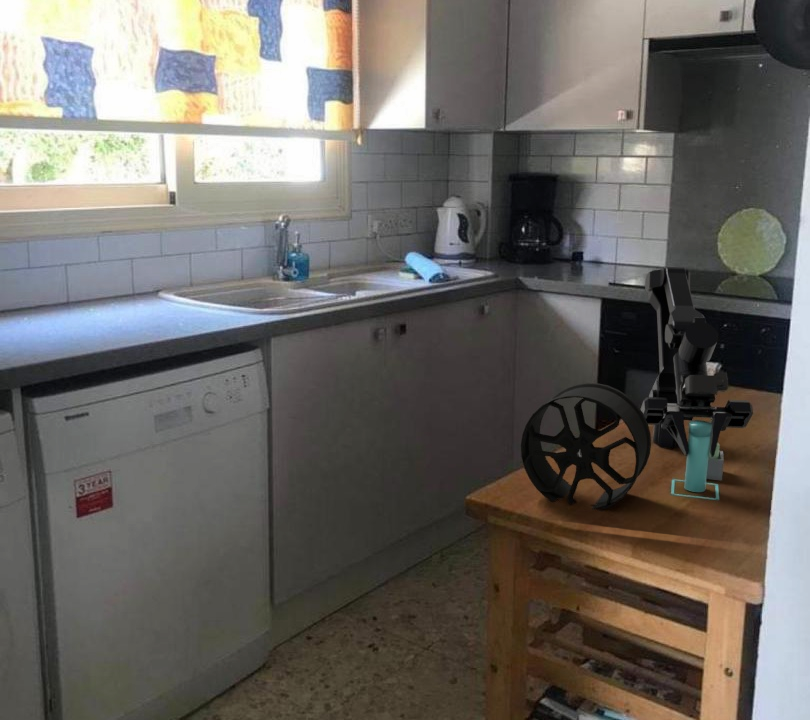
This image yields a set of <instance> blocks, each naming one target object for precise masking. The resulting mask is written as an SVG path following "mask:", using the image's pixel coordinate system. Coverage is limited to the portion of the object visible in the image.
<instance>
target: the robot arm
mask: <svg viewBox="0 0 810 720" xmlns="http://www.w3.org/2000/svg"><path fill="white" fill-rule="evenodd" d="M644 282H645V283H644V288H645V291H646V292H647V294H648V297H647V299H648V303H649V304H650V305H651V306H652V308H653V309H654V310H655V311H656V316H657V317H656V318H657V319H656V320H657V321H656V322H657V337H658V338H657V342H658V362H659V374H658V376H657V377H656V379H655V381H654V384H653V386H652V389H651V390H650V392H649V395H648V396H646V397H645V398H644V399H643V401H642V404H641V407H640V410H641V411H642V412H643V414H644V417H645V419H646V421H647V423H648V426H650V425H652V426H653V428H652V431H653V432H652V436H651V439H652V443H653V444H654V445H657V446H658V448H661V449H662V448H664V449H671V450H672V449H675V448H676V447H679V449H680V450H681V452H682V453H683V455H684V456H685V457H687V456H688V438H687V433H686V427H685V421H689V422H690V421H693V419H694V418H705V419H707V418H709V419H710V423H711V424H712V432H711V436H710V446H709V451H710V455H711V457H713V456H714V454H715V451H716V447H717V443H719V438H720V434H721V432H725V431H726V430H727V429H728V428H730V429H744V428H746V427H747V426H748V425H749V424H748V423H749V422H750V420H751V418H752V416H753V415H754V409H753V404H752V403H751V402H750V401H749V400H744V399H743V400H742V399H728V400H727V402H726V404H725V406H712V404H714V403H715V401H716V396H717V395H718V394H719V393H718V392H720V393H723V392H726V391H728V389H729V379H728V373H727V372H722V371H719V372H718V371H717V372H715V373H714V374H713V375H708V366H707V363H708V362H709V361H710V360H711V359H712V355H713V353H714V352H715V351H714V350H715V348H716V345H717V343H718V341H719V338H720V337H719V332H718V331H717V329H716V328H715V327H714V326H713V325H711V324H710V323H708V322H707V321H706V317H705V316H704V314H703V313H701V312H700V311H698V310H697V309H695V305H694V301H693V296H692V292H691V271H689V269H688V268H685V267H684V266H665V267H661V268H660V269H652V270H651V271H649V272H648V273H647V274H646V275H645V280H644Z"/></svg>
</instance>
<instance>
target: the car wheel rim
mask: <svg viewBox="0 0 810 720" xmlns="http://www.w3.org/2000/svg"><path fill="white" fill-rule="evenodd" d="M570 398H578V399H579V401H578V402H577V403H576V404H575V405H574V406H573V408H574V409H573V410H574V413H575V419H576V422H577V427H578V432H579V436H578V437H575V435H574V433H573V431H572V430H571V427H570V425H569V424H570V423H569V420H568V418H567V415H566V411H565V408H564V406H563V404H560V403H558V402H556V401H558V400H564V399H570ZM585 402H590V403H592V404H593V403H594V404H598V405H599V406H601V407H602V408H605V409H606V410H608V411H609V412H611V413H612V414H613V415H614V417H615V421H614V422H613V423H611V424H610V425H608V426H606V427H604V428H603V429H599V430H598V429H596V428H595V427H594V428H593V427H591V426H590V425H589V424H587V423H586V420H585V417H584V416H585V415H584V412H583V406H582V404H583V403H585ZM550 406H551V407H552V408H553V407H554V408H557V409H558V411H559V414H560V417H561V421H562V424H563V428H562V429H561V431H560V432H558V433H557V434H555V435H547V434H543V433H541V425H542V421H543V418H544V415H545V414H546V412H547V410H548V408H549V407H550ZM640 409H641V407H639V406H638V405H637V403H636V402H635V401H634V400H633V399H632V398H631V397H630V396H628V395H626V393H624V392H622V391H621V390H619V389H618V388H615V387H612V386H610V385H608V384H601V383H597V382H585V383H577V384H574V385H571V386H569V387H566V388H565V389H563V390H562V391H560V392H559V393H557V394H556V395H555V396H553V397H552V398H551V399H550V400H548V401H546V402H545V403H544V404H542V405H541V406H540V407H539V408H538V409H537V410H536V411H535V412H534V413H532V415H531V417H530V418H529V420H528V421H527V423H526V424H525V427H524V429H523V432H522V435H521V442H520V454H521V455H520V457H521V460H522V464H523V468H524V471H525V473H526V475H527V477H528V479H529V481H530V482H531V483H532V484H533V486H534V487H535V489H536V490H537V491H538V492H539V493H540V494H541V495H542V496H543V497H544V498H545V499H547V500H549V501H550V502H552V503H556V502H557V501H558V499H564V498H565V497H566V500H567V502H568V504H569V506H573V504H576V503H577V501H576V499H575V494H576V491H577V488H578V485H579V482H580V481H583V480H590V479H591V480H593V481H595V482H596V484H597V485H598V486H599V487H601V488H602V489H603V490H604V491H603V493H602V494H601V496H600V497H599V498H598V499H597V501H596V502H595V504H590V506H591V507H592V508H591V509H592V510H596V511H603V510H605V509H608V508H610V507H612V506H614V505H615V504H616V503H618V502H620V501H622V499H623V498H624V497H625V496H626V495H627V494H628V493H629V491H630V490H631V489H632V487H633V486H634V484H635V483H636V481H637V479H638V478H639V476H640V475H641V473H642V472H643V471H644V469H645V468H646V466H647V463H648V460H649V458H650V455H651V448H652V436H651V430H650V425H648V423H647V421H646V419H645V417H644V414H643V412H642V411H641V410H640ZM620 420H622V421H623V423H624V424H625V425H626V427H627V428H628V431H629V433H630V434H631V436H632V439H630V438H629V437H627V436H624V437H623V438H620V439H618V440H616V441H614V442H612V443H610V444H608V445H606V446H604V447H602V446H595V445H594V443H595V442H596V440H597V439H599V438H601V437H603V436H605V435H606V434H608V433H609V432H612V431H613V430H615V429H616V428H617V427H618V426H620V422H621V421H620ZM542 443H548V444H552V445H558V446H560V447H562V448H563V449H565V451H560V452H556V451H555V452H554V451H547V450H546V451H545V450H543V448H542V446H543V445H542ZM624 444H627V445H629V446H630V447H631V448H632V449H633V450H634V454H635V456H634V457H635V465H634V466H635V467H634V472H633V475H632V476H629V477H627V478H626V477H624V476H622V475H621V474H620V473H619V472H618V471H616V469H614V468H613V467H612V466H611V465H610V454H611V450H614V449H615V448H617V447H620V446H621V445H624ZM547 457H550V458H551V459H553V460H554V462H555V464H556V465H557V467H558V469H559V472H557V471H556V470H555V469H554V468H553V467H552V466H551V464H550V462H549V461H548V460H547ZM592 463H593V464H595V465H596V466H597V467H599V468H600V469H601V470H602V472H604V473H606V474H607V475H608V476H609V477H611V479H612V480H614V481H615V482H616V483H617V484H618V485H621V486H620V487H618V488H614V489H613V488H611V487H612V486H609V484H608V483H606V481H605V480H603V479H602V478H601V477H600V475H598V474H597V473H596V472H595V470H594V468H593V464H592ZM571 466H575V473H574V478H573V480H572V484H570V483H569V482H568V481H567V480H566V479H564V476H565V473H566V471H567V469H568V468H570V467H571Z"/></svg>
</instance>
